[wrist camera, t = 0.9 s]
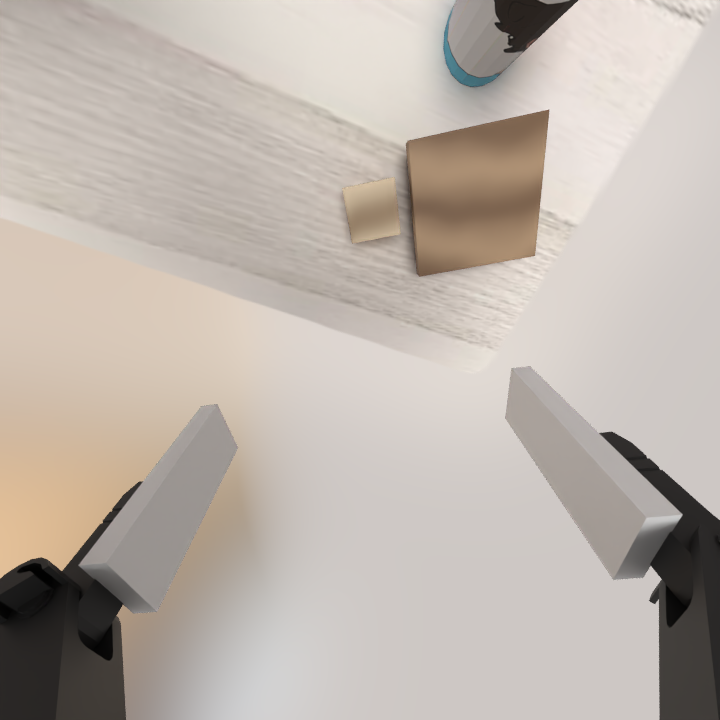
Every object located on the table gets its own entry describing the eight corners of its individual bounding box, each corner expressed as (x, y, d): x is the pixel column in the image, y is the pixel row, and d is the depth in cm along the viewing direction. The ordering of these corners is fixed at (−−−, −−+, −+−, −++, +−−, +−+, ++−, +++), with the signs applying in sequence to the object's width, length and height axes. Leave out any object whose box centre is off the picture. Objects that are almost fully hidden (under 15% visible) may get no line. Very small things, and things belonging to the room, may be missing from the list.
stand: (401, 150, 30) (408, 140, 26) (520, 124, 29) (549, 109, 25) (412, 267, 36) (419, 276, 31) (512, 249, 35) (534, 255, 30)
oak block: (344, 190, 32) (342, 188, 27) (390, 181, 31) (394, 176, 27) (353, 238, 34) (352, 243, 30) (395, 230, 34) (400, 234, 29)
